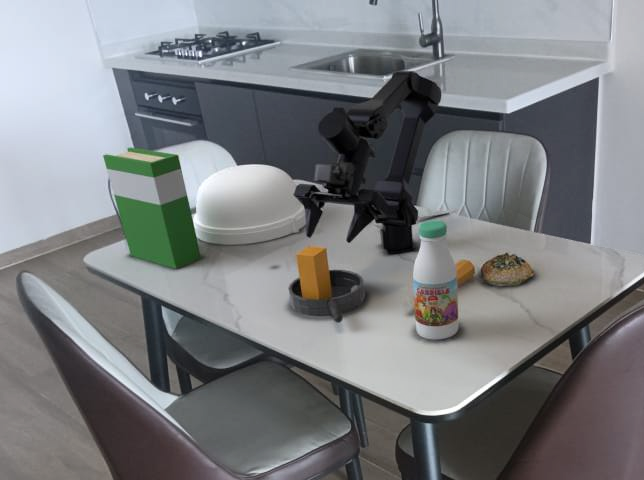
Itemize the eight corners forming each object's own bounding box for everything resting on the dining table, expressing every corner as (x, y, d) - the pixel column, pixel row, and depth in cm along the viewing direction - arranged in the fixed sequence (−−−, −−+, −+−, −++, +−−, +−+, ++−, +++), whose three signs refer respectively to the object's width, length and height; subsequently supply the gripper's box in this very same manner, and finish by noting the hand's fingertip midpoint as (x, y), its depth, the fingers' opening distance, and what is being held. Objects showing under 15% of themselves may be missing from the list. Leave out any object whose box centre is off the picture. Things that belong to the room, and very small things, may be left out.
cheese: (316, 300, 147) (308, 245, 141) (333, 303, 146) (326, 247, 139) (304, 309, 144) (295, 253, 138) (321, 312, 142) (313, 256, 136)
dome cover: (167, 233, 190) (154, 179, 183) (248, 199, 211) (239, 149, 203) (256, 252, 174) (246, 193, 167) (335, 213, 194) (329, 159, 187)
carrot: (465, 278, 154) (456, 258, 152) (481, 274, 151) (473, 254, 149) (408, 324, 142) (398, 303, 141) (425, 321, 139) (415, 300, 137)
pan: (357, 282, 155) (355, 265, 153) (371, 310, 142) (369, 293, 140) (287, 293, 152) (285, 276, 150) (295, 323, 140) (293, 305, 138)
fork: (460, 211, 188) (459, 204, 187) (379, 234, 178) (379, 227, 177) (452, 208, 191) (452, 201, 190) (372, 231, 180) (372, 224, 180)
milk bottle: (413, 323, 136) (407, 219, 126) (455, 319, 137) (451, 214, 126) (418, 342, 130) (412, 234, 119) (461, 338, 130) (459, 229, 120)
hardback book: (130, 255, 179) (102, 155, 166) (155, 245, 183) (130, 147, 171) (176, 268, 169) (150, 163, 156) (201, 258, 174) (178, 154, 161)
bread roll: (489, 262, 158) (492, 240, 155) (539, 274, 154) (543, 252, 151) (470, 284, 150) (473, 262, 147) (522, 298, 146) (526, 275, 143)
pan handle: (327, 305, 141) (326, 298, 140) (336, 304, 141) (335, 296, 140) (335, 324, 134) (334, 316, 133) (343, 323, 134) (342, 315, 133)
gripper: (291, 142, 142) (267, 215, 140) (375, 146, 134) (351, 225, 132) (318, 172, 152) (296, 241, 150) (398, 178, 144) (375, 251, 142)
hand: (327, 239), depth 143 cm, fingers open, 9 cm apart
